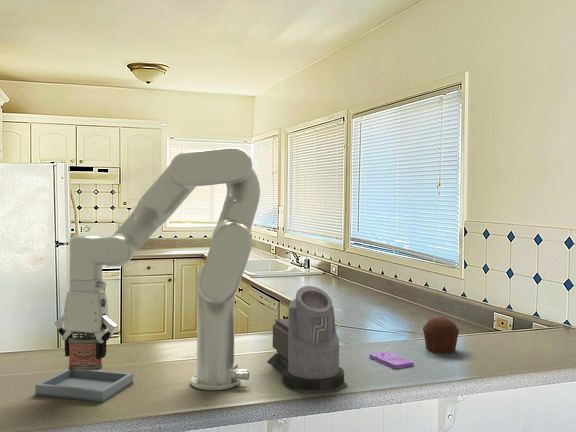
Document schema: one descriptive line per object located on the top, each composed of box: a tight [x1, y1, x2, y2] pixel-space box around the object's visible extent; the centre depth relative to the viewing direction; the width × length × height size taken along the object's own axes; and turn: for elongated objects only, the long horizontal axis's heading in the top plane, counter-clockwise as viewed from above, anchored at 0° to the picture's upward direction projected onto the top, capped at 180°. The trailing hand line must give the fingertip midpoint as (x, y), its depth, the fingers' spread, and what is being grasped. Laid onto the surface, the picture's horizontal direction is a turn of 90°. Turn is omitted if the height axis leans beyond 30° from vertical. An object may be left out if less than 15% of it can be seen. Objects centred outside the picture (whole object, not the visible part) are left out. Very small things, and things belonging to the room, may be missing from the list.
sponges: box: [368, 350, 415, 370], centre depth 166 cm, size 7×13×2 cm, turn 28°
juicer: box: [266, 285, 349, 395], centre depth 152 cm, size 30×16×24 cm, turn 21°
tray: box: [34, 368, 134, 404], centre depth 139 cm, size 18×14×2 cm
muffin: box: [422, 316, 460, 355], centre depth 179 cm, size 12×11×10 cm
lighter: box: [68, 332, 103, 371], centre depth 139 cm, size 8×3×10 cm, turn 93°
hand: (85, 356), depth 139 cm, fingers closed on lighter, 8 cm apart
